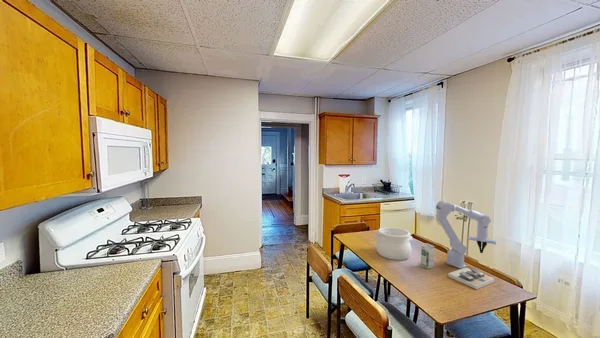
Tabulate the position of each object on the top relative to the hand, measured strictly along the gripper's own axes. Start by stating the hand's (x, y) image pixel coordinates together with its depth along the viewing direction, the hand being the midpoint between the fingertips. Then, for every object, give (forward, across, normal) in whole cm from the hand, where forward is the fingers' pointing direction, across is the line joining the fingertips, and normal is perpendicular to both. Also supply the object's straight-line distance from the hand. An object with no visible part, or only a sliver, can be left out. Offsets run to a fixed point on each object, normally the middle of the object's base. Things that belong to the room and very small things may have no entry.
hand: (481, 252), depth 166 cm
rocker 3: (+6, -2, -20) cm, 21 cm away
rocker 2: (+6, -4, -25) cm, 26 cm away
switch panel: (+9, -4, -25) cm, 27 cm away
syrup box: (+10, -28, -22) cm, 37 cm away
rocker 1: (+6, -6, -30) cm, 31 cm away
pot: (+10, -52, -16) cm, 55 cm away
